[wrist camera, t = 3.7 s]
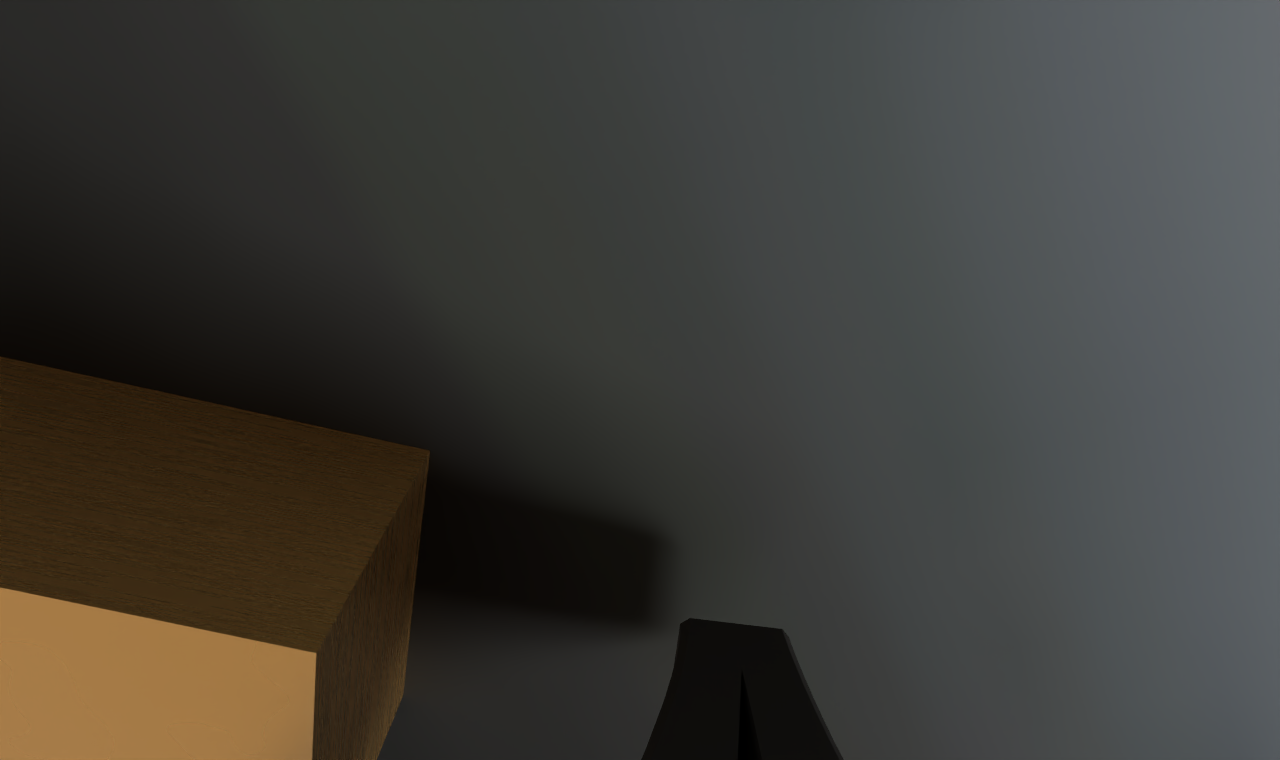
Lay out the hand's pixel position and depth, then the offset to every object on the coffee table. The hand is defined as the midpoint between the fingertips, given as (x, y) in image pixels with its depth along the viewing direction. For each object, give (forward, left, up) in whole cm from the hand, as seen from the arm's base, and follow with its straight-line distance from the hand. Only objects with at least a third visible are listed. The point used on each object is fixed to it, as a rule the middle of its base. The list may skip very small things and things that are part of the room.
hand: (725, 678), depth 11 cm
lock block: (+8, 0, -2) cm, 8 cm away
